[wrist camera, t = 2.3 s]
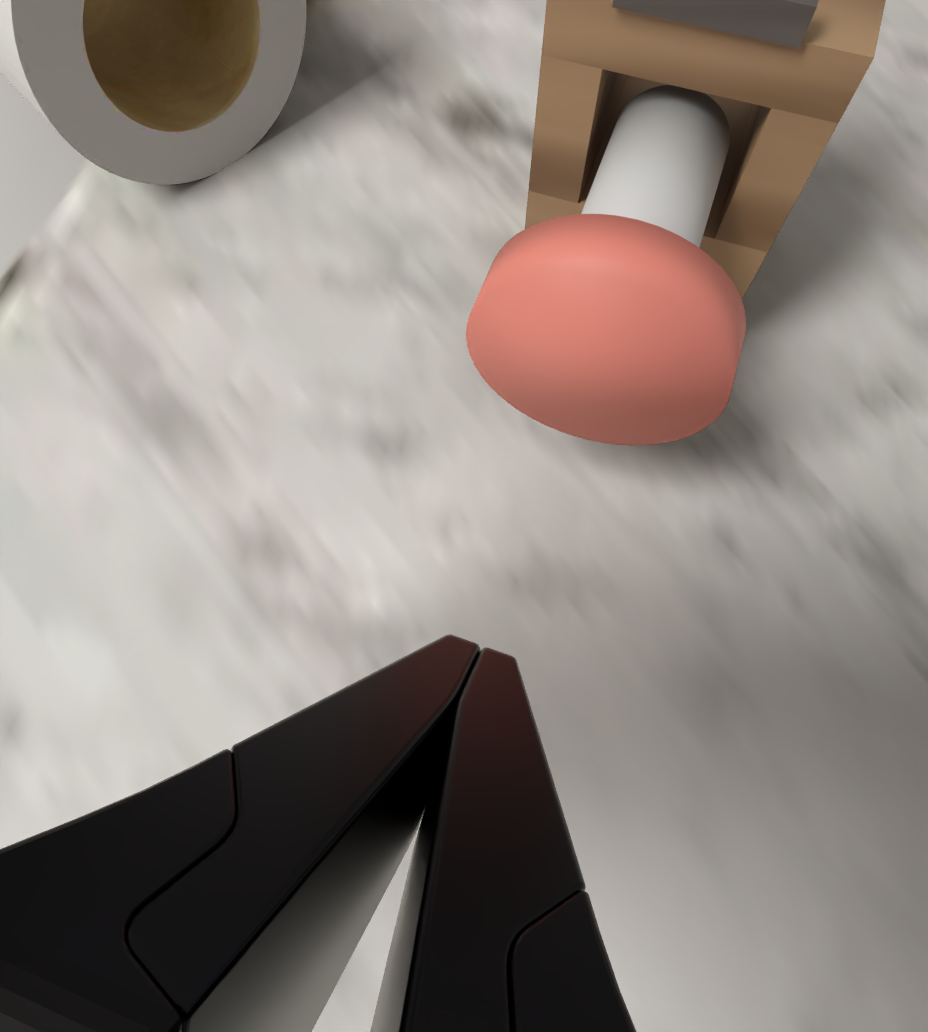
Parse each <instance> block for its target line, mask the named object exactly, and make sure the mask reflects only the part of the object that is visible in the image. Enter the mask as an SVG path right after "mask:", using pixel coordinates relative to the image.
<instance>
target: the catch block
mask: <svg viewBox="0 0 928 1032" xmlns="http://www.w3.org/2000/svg"><path fill="white" fill-rule="evenodd" d="M884 5H885V0H547V4H546V14H545V25H544V35H543V46H542V56H541V67H540V77H539V87H538V98H537V108H536V119H535V129H534V139H533V150H532V160H531V171H530V181H529V192H528V202H527V212H526V223H525V229H526V228H528V227H530V226H532V225H535V224H537V223H540V222H542V221H545V220H549V219H553V218H557V217H561V216H568V215H576V214H581V213H582V210H583V207H584V205H585V202H586V200H587V197H588V195H589V192H590V189H591V187H592V184H593V182H594V179H595V176H596V174H597V171H598V169H599V166H600V164H601V161H602V158H603V156H604V153H605V151H606V148H607V145H608V143H609V140H610V138H611V135H612V132H613V130H614V127H615V125H616V122H617V120H618V117H619V115H620V113H621V112H622V110H623V109H624V107H625V106H626V105H627V104H628V103H629V102H630V101H631V100H632V99H633V98H634V97H636V96H637V95H639V94H640V93H642V92H644V91H646V90H648V89H651V88H654V87H658V86H662V85H673V86H678V87H682V88H686V89H691V90H695V91H699V92H703V93H705V94H706V95H708V96H709V97H711V98H712V99H713V100H714V101H715V102H716V103H717V104H718V105H719V106H720V108H721V109H722V111H723V112H724V114H725V116H726V118H727V120H728V124H729V128H730V145H729V149H728V153H727V156H726V159H725V163H724V166H723V170H722V173H721V176H720V180H719V183H718V187H717V190H716V193H715V197H714V200H713V203H712V207H711V210H710V214H709V217H708V220H707V224H706V227H705V230H704V234H703V237H702V241H701V244H700V247H699V248H700V249H701V250H703V251H704V252H705V253H707V254H708V255H709V256H710V257H711V258H712V259H713V260H714V261H715V262H717V263H718V264H719V265H720V266H721V267H722V268H723V270H724V271H725V272H726V274H727V275H728V276H729V277H730V279H731V280H732V281H733V283H734V285H735V287H736V289H737V290H738V292H739V294H740V297H741V299H743V297H744V295H745V293H746V291H747V289H748V288H749V286H750V284H751V282H752V280H753V278H754V277H755V275H756V273H757V271H758V269H759V267H760V266H761V264H762V262H763V260H764V258H765V256H766V255H767V253H768V251H769V249H770V247H771V245H772V244H773V242H774V240H775V238H776V236H777V234H778V233H779V231H780V229H781V227H782V225H783V223H784V222H785V220H786V218H787V216H788V214H789V212H790V211H791V209H792V207H793V205H794V203H795V201H796V200H797V198H798V196H799V194H800V192H801V190H802V189H803V187H804V185H805V183H806V181H807V179H808V178H809V176H810V174H811V172H812V170H813V168H814V167H815V165H816V163H817V161H818V159H819V157H820V156H821V154H822V152H823V150H824V148H825V146H826V145H827V143H828V141H829V139H830V137H831V135H832V134H833V132H834V130H835V128H836V126H837V124H838V123H839V121H840V119H841V117H842V115H843V113H844V112H845V110H846V108H847V106H848V104H849V102H850V101H851V99H852V97H853V95H854V93H855V91H856V90H857V88H858V86H859V84H860V82H861V80H862V79H863V77H864V75H865V73H866V71H867V69H868V68H869V66H870V64H871V62H872V60H873V58H874V55H875V50H876V45H877V40H878V35H879V30H880V25H881V20H882V15H883V10H884Z"/></svg>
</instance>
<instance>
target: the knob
mask: <svg viewBox="0 0 928 1032" xmlns="http://www.w3.org/2000/svg"><path fill="white" fill-rule="evenodd" d="M729 145H730V128H729V124H728V120H727V118H726V116H725V114H724V112H723V111H722V109H721V108H720V106H719V105H718V104H717V103H716V102H715V101H714V100H713V99H712V98H711V97H709V96H708V95H706V94H705V93H703V92H699V91H695V90H691V89H686V88H682V87H678V86H673V85H662V86H658V87H654V88H651V89H648V90H646V91H644V92H642V93H640V94H639V95H637V96H636V97H634V98H633V99H632V100H631V101H630V102H629V103H628V104H627V105H626V106H625V107H624V109H623V110H622V112H621V113H620V115H619V117H618V120H617V122H616V125H615V127H614V130H613V132H612V135H611V138H610V140H609V143H608V145H607V148H606V151H605V153H604V156H603V158H602V161H601V164H600V166H599V169H598V171H597V174H596V176H595V179H594V182H593V184H592V187H591V189H590V192H589V195H588V197H587V200H586V202H585V205H584V207H583V210H582V213H581V214H576V215H568V216H561V217H557V218H553V219H549V220H545V221H542V222H540V223H537V224H535V225H532V226H530V227H528V228H526V229H525V230H523V231H521V232H520V233H518V234H516V235H515V236H514V237H513V238H512V239H510V240H509V241H508V242H507V243H506V244H505V245H504V246H503V248H502V249H501V250H500V251H499V252H498V254H497V256H496V257H495V259H494V261H493V263H492V265H491V267H490V270H489V272H488V274H487V277H486V279H485V281H484V283H483V286H482V288H481V290H480V293H479V295H478V297H477V300H476V302H475V304H474V307H473V309H472V311H471V313H470V316H469V320H468V323H467V330H466V338H467V346H468V349H469V353H470V356H471V358H472V360H473V362H474V365H475V367H476V368H477V370H478V371H479V373H480V374H481V376H482V377H483V378H484V380H485V381H486V382H487V383H488V384H489V386H490V387H491V388H492V389H493V390H494V391H495V392H496V393H497V394H498V395H500V396H501V397H502V398H503V399H504V400H506V401H507V402H508V403H509V404H511V405H512V406H513V407H515V408H516V409H518V410H519V411H521V412H522V413H524V414H526V415H527V416H529V417H531V418H532V419H534V420H536V421H538V422H540V423H542V424H544V425H547V426H549V427H551V428H554V429H556V430H558V431H561V432H564V433H567V434H570V435H573V436H577V437H580V438H584V439H588V440H593V441H598V442H603V443H610V444H619V445H651V444H661V443H666V442H671V441H675V440H679V439H682V438H685V437H688V436H690V435H693V434H695V433H697V432H699V431H701V430H702V429H704V428H706V427H707V426H709V425H710V424H711V423H712V422H713V421H715V420H716V419H717V418H718V417H719V415H720V414H721V413H722V412H723V410H724V409H725V407H726V405H727V403H728V401H729V398H730V394H731V390H732V386H733V382H734V378H735V374H736V370H737V366H738V362H739V358H740V354H741V350H742V346H743V342H744V338H745V334H746V315H745V308H744V305H743V302H742V299H741V297H740V294H739V292H738V290H737V289H736V287H735V285H734V283H733V281H732V280H731V279H730V277H729V276H728V275H727V274H726V272H725V271H724V270H723V268H722V267H721V266H720V265H719V264H718V263H717V262H715V261H714V260H713V259H712V258H711V257H710V256H709V255H708V254H707V253H705V252H704V251H703V250H701V249H700V248H699V247H700V244H701V241H702V237H703V234H704V230H705V227H706V224H707V220H708V217H709V214H710V210H711V207H712V203H713V200H714V197H715V193H716V190H717V187H718V183H719V180H720V176H721V173H722V170H723V166H724V163H725V159H726V156H727V153H728V149H729Z"/></svg>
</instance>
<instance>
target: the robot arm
mask: <svg viewBox="0 0 928 1032" xmlns="http://www.w3.org/2000/svg"><path fill="white" fill-rule="evenodd" d="M422 817H423V818H422ZM421 819H422V821H421ZM420 821H421V824H420ZM419 824H420V828H419V831H418V835H417V839H416V842H415V846H414V850H413V854H412V858H411V862H410V866H409V871H408V875H407V879H406V883H405V888H404V892H403V896H402V900H401V904H400V909H399V913H398V917H397V921H396V926H395V930H394V934H393V938H392V942H391V947H390V951H389V955H388V959H387V964H386V968H385V972H384V976H383V980H382V985H381V989H380V993H379V997H378V1002H377V1006H376V1010H375V1014H374V1018H373V1023H372V1027H371V1031H370V1032H636V1030H635V1027H634V1025H633V1022H632V1020H631V1017H630V1015H629V1012H628V1010H627V1007H626V1005H625V1002H624V1000H623V997H622V995H621V992H620V990H619V987H618V984H617V981H616V978H615V975H614V972H613V969H612V966H611V963H610V960H609V957H608V955H607V952H606V949H605V946H604V943H603V940H602V937H601V934H600V931H599V928H598V924H597V921H596V918H595V914H594V911H593V908H592V904H591V901H590V898H589V895H588V893H587V892H585V883H584V879H583V876H582V873H581V870H580V866H579V863H578V860H577V857H576V853H575V850H574V847H573V843H572V840H571V837H570V834H569V830H568V827H567V824H566V821H565V817H564V814H563V811H562V808H561V804H560V801H559V798H558V794H557V791H556V788H555V785H554V781H553V778H552V775H551V772H550V768H549V765H548V762H547V759H546V755H545V752H544V749H543V746H542V742H541V739H540V736H539V732H538V729H537V726H536V723H535V719H534V716H533V713H532V710H531V706H530V703H529V700H528V697H527V693H526V690H525V687H524V684H523V680H522V677H521V674H520V670H519V667H518V664H517V661H516V659H515V658H514V657H512V656H510V655H507V654H504V653H501V652H499V651H496V650H493V649H490V648H483V649H482V650H481V651H480V647H479V646H478V645H477V644H476V643H473V642H470V641H468V640H465V639H462V638H459V637H456V636H454V635H446V636H444V637H442V638H440V639H438V640H436V641H434V642H432V643H430V644H428V645H426V646H425V647H423V648H421V649H419V650H417V651H415V652H413V653H411V654H409V655H407V656H405V657H403V658H401V659H399V660H398V661H396V662H394V663H392V664H390V665H388V666H386V667H384V668H382V669H380V670H378V671H376V672H374V673H372V674H370V675H369V676H367V677H365V678H363V679H361V680H359V681H357V682H355V683H353V684H351V685H349V686H347V687H345V688H343V689H342V690H340V691H338V692H336V693H334V694H332V695H330V696H328V697H326V698H324V699H322V700H320V701H318V702H316V703H315V704H313V705H311V706H309V707H307V708H305V709H303V710H301V711H299V712H297V713H295V714H293V715H291V716H289V717H288V718H286V719H284V720H282V721H280V722H278V723H276V724H274V725H272V726H270V727H268V728H266V729H264V730H262V731H261V732H259V733H257V734H255V735H253V736H251V737H249V738H247V739H245V740H243V741H241V742H239V743H237V744H235V745H234V746H233V747H232V749H231V751H230V750H228V749H225V750H223V751H221V752H219V753H217V754H215V755H214V756H212V757H210V758H208V759H206V760H204V761H202V762H200V763H198V764H196V765H194V766H192V767H190V768H188V769H186V770H184V771H182V772H180V773H178V774H176V775H174V776H171V777H169V778H167V779H165V780H163V781H161V782H159V783H157V784H155V785H153V786H151V787H149V788H147V789H145V790H143V791H140V792H138V793H136V794H133V795H131V796H129V797H126V798H124V799H122V800H119V801H117V802H114V803H112V804H110V805H107V806H105V807H103V808H100V809H98V810H96V811H93V812H91V813H89V814H86V815H84V816H82V817H79V818H77V819H74V820H72V821H69V822H67V823H64V824H62V825H59V826H57V827H54V828H52V829H49V830H47V831H44V832H42V833H40V834H37V835H35V836H32V837H30V838H27V839H25V840H22V841H20V842H17V843H15V844H12V845H10V846H7V847H5V848H2V849H0V1032H312V1030H313V1028H314V1026H315V1024H316V1022H317V1020H318V1018H319V1016H320V1015H321V1013H322V1011H323V1009H324V1007H325V1005H326V1003H327V1001H328V999H329V997H330V996H331V994H332V992H333V990H334V988H335V986H336V984H337V982H338V980H339V978H340V977H341V975H342V973H343V971H344V969H345V967H346V965H347V963H348V961H349V959H350V958H351V956H352V954H353V952H354V950H355V948H356V946H357V944H358V942H359V940H360V939H361V937H362V935H363V933H364V931H365V929H366V927H367V925H368V923H369V921H370V920H371V918H372V916H373V914H374V912H375V910H376V908H377V906H378V904H379V902H380V901H381V899H382V897H383V895H384V893H385V891H386V889H387V887H388V885H389V883H390V882H391V880H392V878H393V876H394V874H395V872H396V870H397V868H398V866H399V864H400V863H401V861H402V859H403V857H404V855H405V853H406V851H407V849H408V847H409V845H410V843H411V841H412V839H413V837H414V835H415V833H416V831H417V829H418V826H419Z"/></svg>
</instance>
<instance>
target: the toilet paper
mask: <svg viewBox="0 0 928 1032" xmlns="http://www.w3.org/2000/svg"><path fill="white" fill-rule="evenodd" d="M305 32H306V0H0V74H1V75H2V76H3V77H4V78H5V79H6V80H7V81H8V82H9V83H10V84H11V85H12V86H13V87H14V88H15V89H16V90H17V91H18V92H19V93H20V94H21V95H22V96H23V97H24V98H25V99H26V100H27V101H28V102H29V103H30V104H31V105H32V106H33V107H34V108H35V109H36V110H37V111H38V112H39V113H40V114H41V115H42V116H43V118H44V119H45V120H46V121H47V122H48V123H49V124H50V125H51V126H52V127H53V128H54V129H55V130H56V131H57V132H58V133H59V134H60V135H61V136H62V137H63V138H64V139H65V140H66V141H67V142H68V143H69V144H70V145H71V146H72V147H73V148H74V149H76V150H77V151H78V152H79V153H80V154H82V155H83V156H84V157H85V158H87V159H88V160H90V161H91V162H93V163H94V164H96V165H97V166H99V167H101V168H103V169H105V170H107V171H108V172H110V173H113V174H115V175H118V176H120V177H123V178H126V179H129V180H133V181H137V182H142V183H147V184H159V185H168V184H180V183H187V182H191V181H196V180H199V179H202V178H205V177H208V176H210V175H213V174H215V173H217V172H218V171H220V170H222V169H223V168H225V167H226V166H228V165H230V164H231V163H233V162H235V161H236V160H238V159H239V158H241V157H243V156H244V155H245V154H246V153H248V152H249V151H250V150H251V149H252V148H253V147H254V146H255V145H256V144H257V143H258V142H259V141H260V140H261V139H262V137H263V136H264V135H265V134H266V133H267V131H268V130H269V129H270V127H271V126H272V125H273V123H274V122H275V120H276V119H277V117H278V115H279V114H280V112H281V110H282V109H283V107H284V105H285V103H286V101H287V99H288V97H289V94H290V92H291V90H292V87H293V85H294V82H295V79H296V76H297V73H298V69H299V65H300V62H301V57H302V52H303V47H304V40H305Z"/></svg>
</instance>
